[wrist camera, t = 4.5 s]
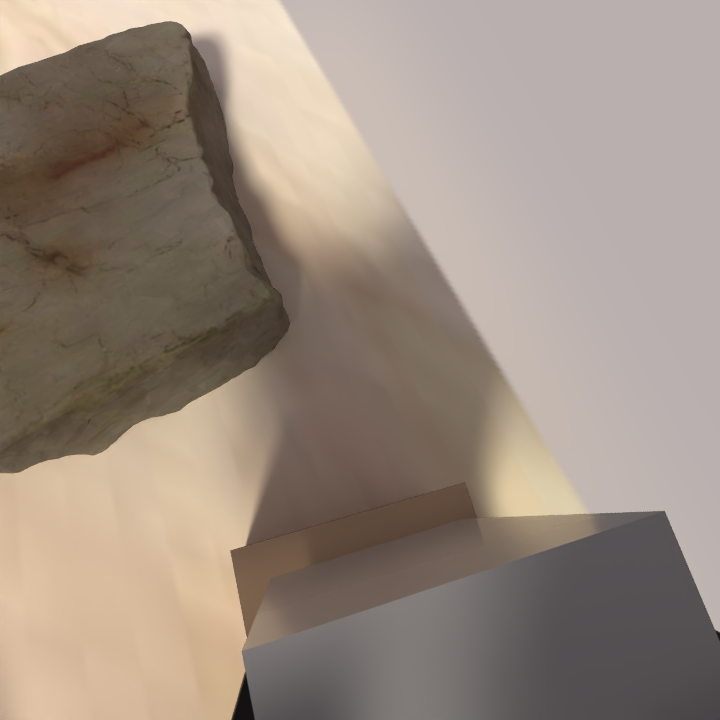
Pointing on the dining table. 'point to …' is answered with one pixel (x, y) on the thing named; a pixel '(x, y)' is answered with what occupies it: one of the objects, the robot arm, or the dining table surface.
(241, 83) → the dining table surface
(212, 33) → the dining table surface
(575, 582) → the grey block
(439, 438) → the dining table surface
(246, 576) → the plinth
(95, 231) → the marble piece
